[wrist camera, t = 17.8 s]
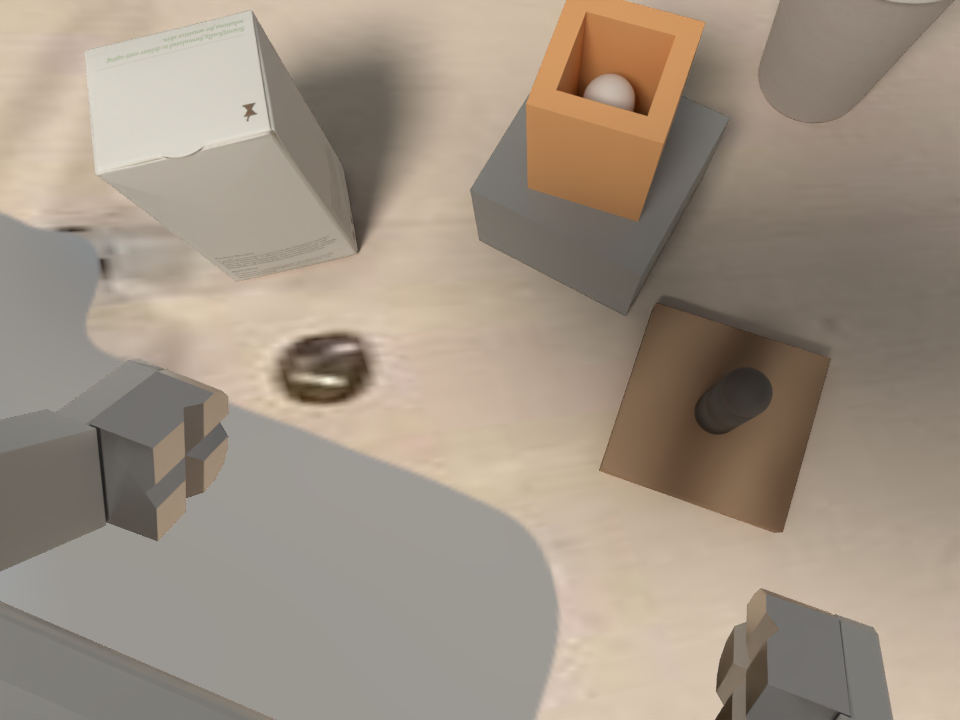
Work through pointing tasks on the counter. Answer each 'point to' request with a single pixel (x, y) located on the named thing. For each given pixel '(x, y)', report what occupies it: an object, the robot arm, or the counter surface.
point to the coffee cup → (837, 51)
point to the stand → (716, 417)
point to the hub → (588, 231)
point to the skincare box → (219, 147)
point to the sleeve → (596, 126)
